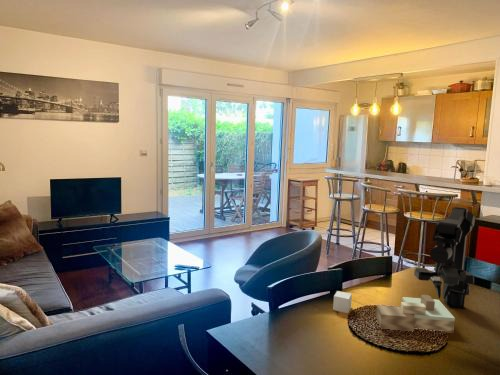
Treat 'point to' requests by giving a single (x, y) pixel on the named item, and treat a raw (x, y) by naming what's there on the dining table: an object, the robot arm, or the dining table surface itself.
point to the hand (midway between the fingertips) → (441, 298)
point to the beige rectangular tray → (408, 320)
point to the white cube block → (342, 302)
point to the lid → (431, 308)
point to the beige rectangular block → (413, 308)
